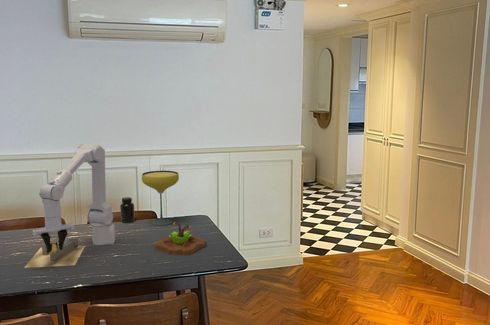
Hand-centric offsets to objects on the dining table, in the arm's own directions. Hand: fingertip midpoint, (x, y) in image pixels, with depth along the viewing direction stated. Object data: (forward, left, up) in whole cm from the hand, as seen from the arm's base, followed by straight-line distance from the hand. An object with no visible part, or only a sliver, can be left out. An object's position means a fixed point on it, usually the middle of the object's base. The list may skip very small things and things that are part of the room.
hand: (55, 250), depth 179 cm
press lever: (-2, -8, -4) cm, 9 cm away
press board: (+1, -8, -6) cm, 10 cm away
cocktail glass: (-39, -53, -6) cm, 66 cm away
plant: (-47, -15, -6) cm, 50 cm away
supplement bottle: (-22, -58, -6) cm, 62 cm away
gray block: (+5, -12, -6) cm, 14 cm away
